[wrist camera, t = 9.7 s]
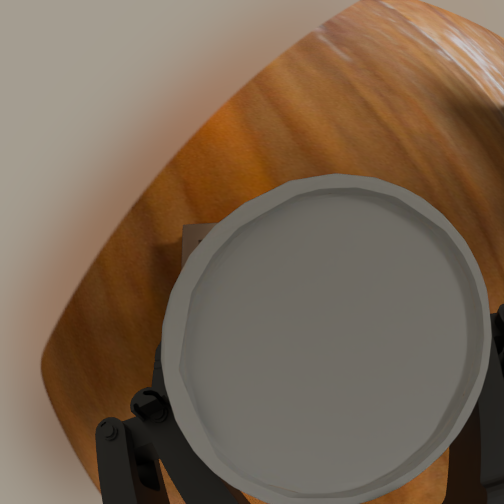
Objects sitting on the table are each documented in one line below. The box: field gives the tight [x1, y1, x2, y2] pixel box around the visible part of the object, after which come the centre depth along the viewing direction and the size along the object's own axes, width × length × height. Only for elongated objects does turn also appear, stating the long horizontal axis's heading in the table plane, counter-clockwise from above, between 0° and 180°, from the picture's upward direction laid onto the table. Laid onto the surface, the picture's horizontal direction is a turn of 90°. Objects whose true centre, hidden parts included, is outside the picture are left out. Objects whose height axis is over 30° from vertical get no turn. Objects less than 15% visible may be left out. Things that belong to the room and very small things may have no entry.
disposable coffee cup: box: [161, 174, 492, 504], centre depth 11 cm, size 10×10×12 cm
